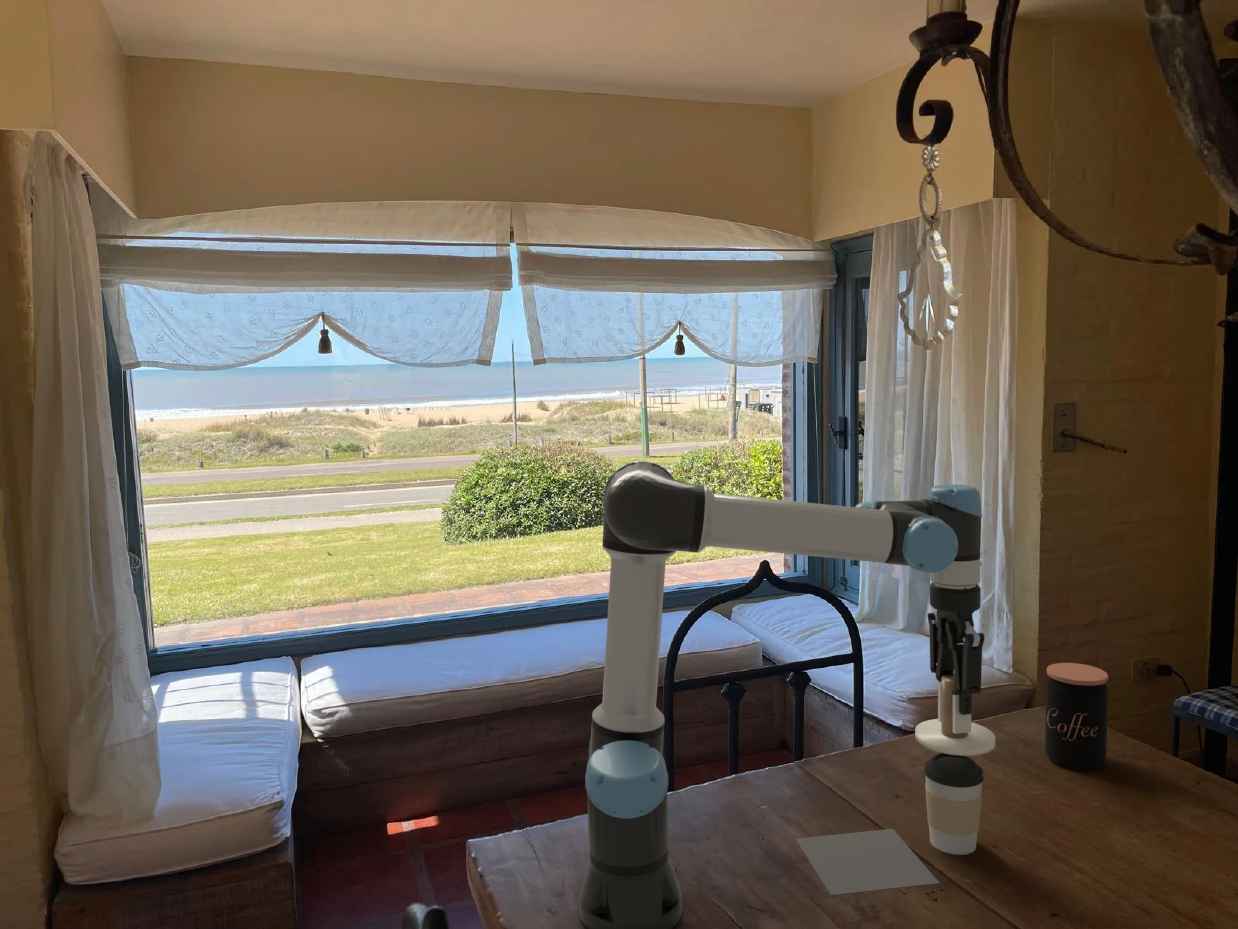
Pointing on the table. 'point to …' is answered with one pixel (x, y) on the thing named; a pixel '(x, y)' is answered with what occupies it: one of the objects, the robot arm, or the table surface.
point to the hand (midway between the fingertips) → (954, 726)
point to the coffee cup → (953, 802)
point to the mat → (865, 862)
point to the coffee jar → (1076, 716)
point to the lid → (942, 734)
